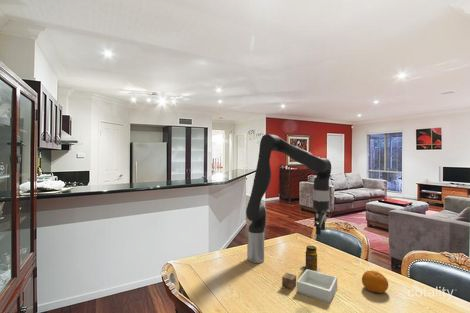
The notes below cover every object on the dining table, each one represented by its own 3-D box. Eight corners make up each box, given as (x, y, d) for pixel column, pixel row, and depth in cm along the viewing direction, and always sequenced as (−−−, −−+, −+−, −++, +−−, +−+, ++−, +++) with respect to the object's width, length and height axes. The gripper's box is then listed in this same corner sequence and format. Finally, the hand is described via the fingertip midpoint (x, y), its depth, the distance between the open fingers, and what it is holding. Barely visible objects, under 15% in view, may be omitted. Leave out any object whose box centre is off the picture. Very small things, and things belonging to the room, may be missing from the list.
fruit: (388, 299, 104) (388, 280, 104) (361, 292, 110) (361, 274, 110) (388, 288, 113) (388, 270, 113) (362, 281, 118) (362, 265, 118)
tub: (296, 292, 109) (296, 281, 109) (306, 279, 121) (306, 269, 121) (330, 303, 101) (330, 291, 101) (337, 287, 113) (337, 277, 113)
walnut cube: (282, 287, 114) (282, 276, 114) (286, 282, 118) (286, 272, 118) (292, 290, 111) (292, 279, 111) (296, 285, 115) (296, 275, 115)
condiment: (320, 269, 131) (320, 247, 131) (310, 274, 126) (310, 251, 126) (309, 264, 137) (309, 243, 137) (299, 268, 133) (299, 246, 133)
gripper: (316, 196, 126) (316, 227, 126) (309, 200, 114) (308, 234, 114) (332, 197, 121) (331, 229, 122) (325, 202, 109) (325, 238, 110)
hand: (320, 232), depth 118 cm, fingers open, 8 cm apart
